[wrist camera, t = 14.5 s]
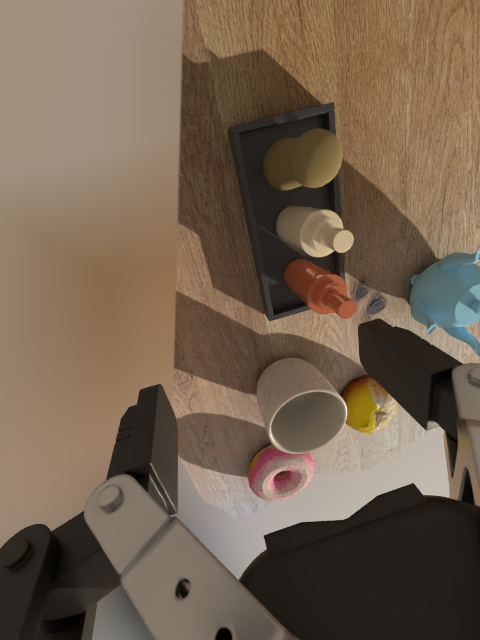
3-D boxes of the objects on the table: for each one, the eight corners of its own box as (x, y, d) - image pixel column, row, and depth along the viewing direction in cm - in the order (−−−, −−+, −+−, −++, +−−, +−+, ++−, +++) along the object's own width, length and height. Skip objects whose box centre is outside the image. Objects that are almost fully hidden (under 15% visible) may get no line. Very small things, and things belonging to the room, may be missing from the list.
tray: (227, 129, 36) (230, 126, 34) (325, 106, 37) (334, 102, 34) (265, 315, 47) (269, 321, 45) (339, 294, 48) (346, 299, 46)
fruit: (373, 421, 62) (387, 451, 54) (326, 405, 61) (334, 432, 54) (401, 378, 57) (420, 403, 50) (351, 361, 57) (363, 383, 50)
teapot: (430, 329, 55) (480, 358, 46) (379, 306, 50) (423, 332, 41) (477, 266, 51) (541, 284, 42) (425, 235, 46) (485, 247, 37)
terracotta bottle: (277, 277, 44) (315, 312, 31) (302, 250, 43) (352, 276, 30) (299, 298, 46) (343, 339, 34) (323, 273, 45) (378, 306, 33)
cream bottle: (268, 226, 40) (307, 243, 28) (295, 196, 39) (348, 200, 27) (292, 251, 43) (339, 278, 30) (318, 223, 42) (377, 239, 29)
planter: (308, 339, 50) (339, 376, 41) (323, 391, 56) (353, 434, 46) (241, 366, 50) (256, 410, 40) (262, 416, 56) (280, 465, 46)
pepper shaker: (298, 196, 40) (338, 200, 30) (256, 183, 38) (284, 182, 28) (314, 146, 37) (362, 133, 28) (270, 130, 36) (305, 109, 26)
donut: (313, 434, 60) (323, 454, 56) (302, 479, 66) (311, 501, 61) (249, 439, 57) (255, 461, 53) (243, 486, 63) (248, 509, 58)
